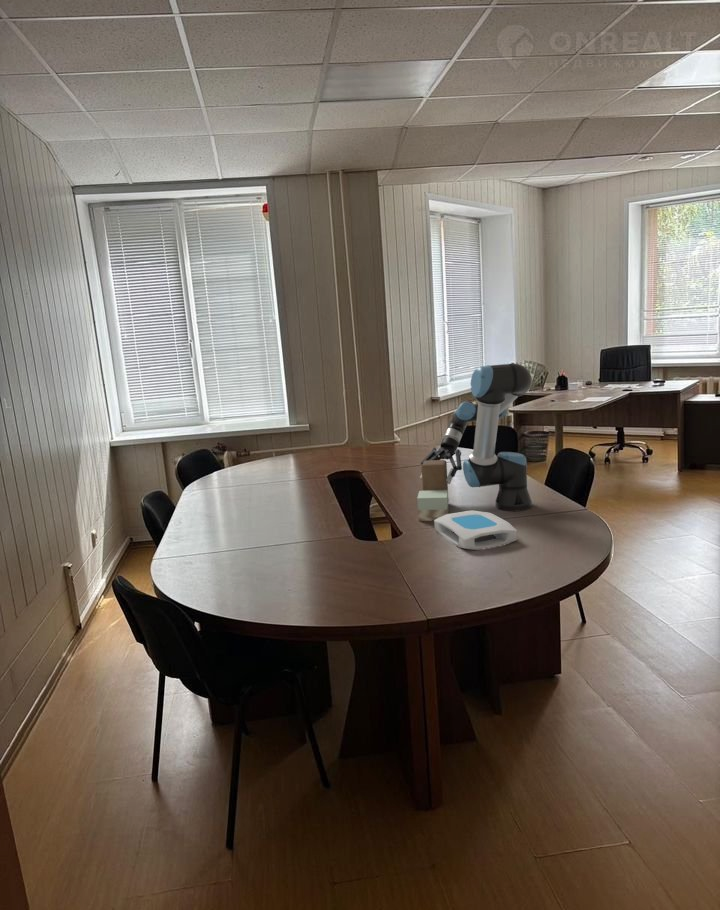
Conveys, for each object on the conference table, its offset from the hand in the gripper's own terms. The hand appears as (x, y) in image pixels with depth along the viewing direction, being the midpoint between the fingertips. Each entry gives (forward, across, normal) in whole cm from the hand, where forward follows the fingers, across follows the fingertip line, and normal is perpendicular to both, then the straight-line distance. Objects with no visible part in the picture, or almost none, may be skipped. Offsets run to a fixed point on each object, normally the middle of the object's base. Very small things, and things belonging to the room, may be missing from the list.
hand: (434, 481), depth 290 cm
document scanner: (+28, -36, +11) cm, 47 cm away
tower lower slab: (+18, -7, +1) cm, 19 cm away
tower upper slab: (+14, -8, +4) cm, 16 cm away
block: (+8, 0, -8) cm, 12 cm away
